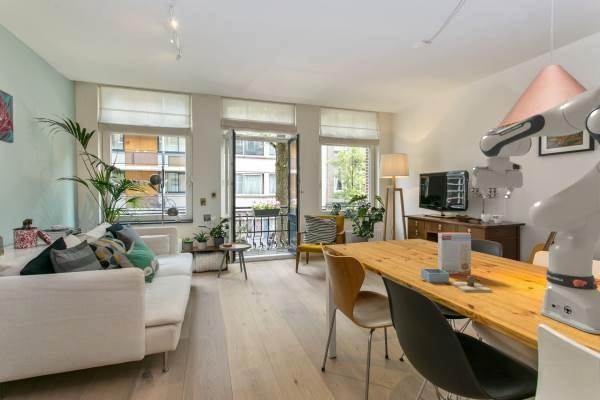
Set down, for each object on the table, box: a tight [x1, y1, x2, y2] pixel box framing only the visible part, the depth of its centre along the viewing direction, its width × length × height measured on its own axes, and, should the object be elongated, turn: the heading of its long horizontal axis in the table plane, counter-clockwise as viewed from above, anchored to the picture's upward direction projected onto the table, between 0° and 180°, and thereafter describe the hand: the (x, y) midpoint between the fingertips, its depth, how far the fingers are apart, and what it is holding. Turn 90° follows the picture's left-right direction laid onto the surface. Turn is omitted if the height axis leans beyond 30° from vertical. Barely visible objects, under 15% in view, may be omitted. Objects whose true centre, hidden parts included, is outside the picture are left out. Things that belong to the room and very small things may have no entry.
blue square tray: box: [420, 268, 450, 284], centre depth 142 cm, size 9×9×4 cm
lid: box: [450, 275, 493, 293], centre depth 131 cm, size 11×11×5 cm
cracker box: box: [437, 231, 472, 276], centre depth 154 cm, size 14×6×21 cm, turn 85°
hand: (496, 198), depth 132 cm, fingers open, 8 cm apart
